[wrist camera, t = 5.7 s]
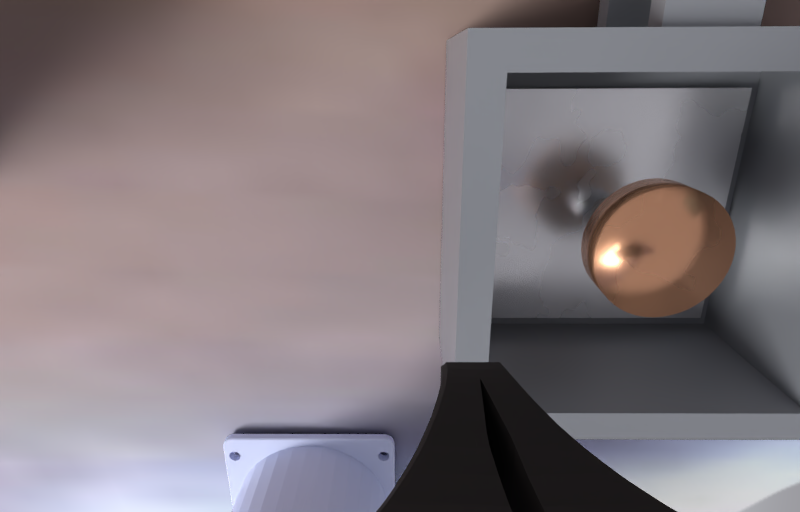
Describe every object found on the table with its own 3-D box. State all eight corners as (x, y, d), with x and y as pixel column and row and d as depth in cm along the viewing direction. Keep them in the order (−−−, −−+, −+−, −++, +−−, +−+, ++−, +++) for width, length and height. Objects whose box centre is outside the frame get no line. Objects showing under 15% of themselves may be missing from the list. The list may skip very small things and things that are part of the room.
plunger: (692, 311, 21) (778, 384, 16) (479, 311, 21) (501, 384, 16) (741, 87, 18) (866, 95, 13) (491, 88, 18) (524, 96, 13)
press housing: (714, 337, 22) (831, 439, 16) (439, 337, 22) (452, 439, 16) (807, -53, 17) (1031, -118, 11) (448, -50, 17) (473, -113, 11)
